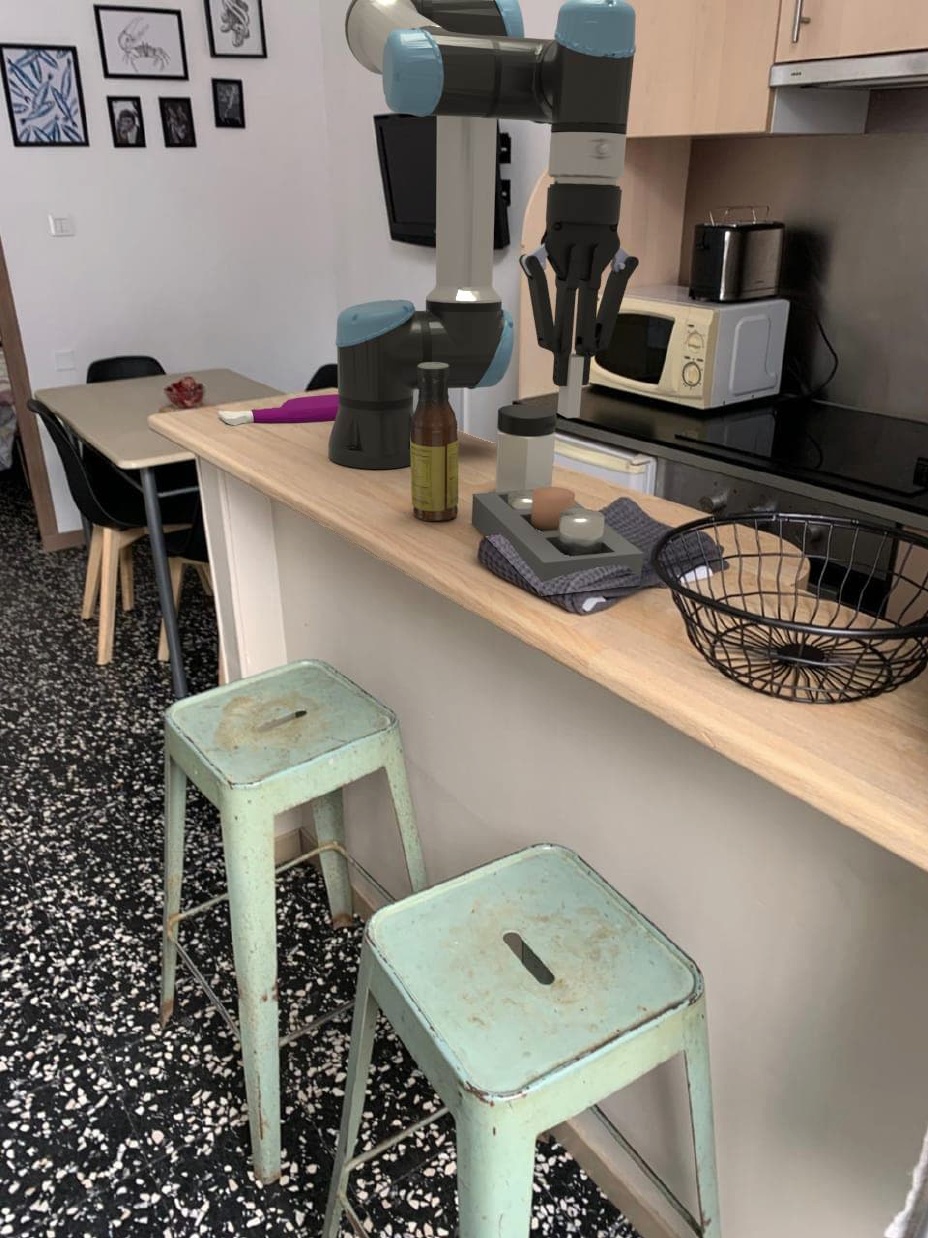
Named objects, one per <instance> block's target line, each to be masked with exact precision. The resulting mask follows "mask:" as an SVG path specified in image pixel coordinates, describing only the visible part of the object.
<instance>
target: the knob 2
mask: <svg viewBox="0 0 928 1238" xmlns="http://www.w3.org/2000/svg"><path fill="white" fill-rule="evenodd" d="M605 517H606V516H605V514H603V513H602V512H600V511H598V510H596V509H589V508H585V507H584V508H571V509H566V510H563V511H561V512H560V516H559V528H558V541H557V549H558V550H559V551H560V552H561V553H563V554H565V555H569V556H581V555H591V554H600V553H601V549H602V539H603V529H604V523H605Z"/></svg>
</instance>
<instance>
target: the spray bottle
mask: <svg viewBox="0 0 928 1238" xmlns="http://www.w3.org/2000/svg"><path fill="white" fill-rule="evenodd" d="M337 411H338V393H336V394H335V393H334V394H324V395H322V394H321V395H309V396H301V397H294V398H290V399H287V400H286V401H285V402H283V403H282V405H281V406H279V407H271V408H270V407H268V408H261V409H259V408H258V409H257V408H256V409H255V408H253V409H250V410H242V411H231V410H230V411H229V410H225V411H224V410H219V411H218V416H219V418H220V419H221V420H223V421H224V422H225V423H227V424H229V425H231V426H234V427H235V426H238V425H240V424H247V423H248V424H249V423H264V424H265V423H266V424H267V423H269V424H277V423H278V424H282V423H283V424H299V423H300V424H301V423H302V424H303V423H304V424H305V423H319V422H321V423H322V422H329V421H330V422H331V421H335V418H336V415H337Z"/></svg>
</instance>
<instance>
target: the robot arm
mask: <svg viewBox="0 0 928 1238" xmlns="http://www.w3.org/2000/svg"><path fill="white" fill-rule="evenodd" d="M636 17H637V16H636V11H635V8H634V7H633V5H632V4H631V3H629V2H627V1H625V0H567V1H566V2H564V3H563V4H562V5H561V6H560V7H559V10H558V14H557V20H556V21H557V22H556V28H555V30H554V35H553V36H554V37H553V38H551V39H548V38H535V37H534V38H531V37H526V36H525V26H524V19H523V18H524V17H523V14H522V10H521V6H520V2H519V1H518V0H351V2H350V4H349V5H348V8H347V10H346V15H345V20H344V32H345V33H344V34H345V40H346V43H347V46H348V48H349V50H350V52H351V54H352V56H353V57H354V59H356V61H358V63H359V64H360V65H361V66H362V67H363V68H365V69H366V70H368V71H369V72H371V73H373V74H377V75H380V76H381V79H382V91H383V94H384V97H385V100H384V101H385V103H386V105H387V107H388V109H390V110H391V111H392V112H393V113H397V114H406V115H412V116H415V117H420V118H422V117H423V118H425V117H426V116H431V117H432V116H434V117H435V116H436V195H435V197H436V199H435V201H436V205H435V208H436V210H435V211H436V212H435V214H436V215H435V216H436V219H435V220H436V221H435V222H436V223H435V231H436V232H435V244H436V245H435V286H434V288H433V289H432V290H431V291H430V292H429V293H428V294H427V296H426V297H425V310H416V307H415V305H414V303H413V301H410V300H406V299H395V300H391V299H387V300H386V299H385V300H384V299H383V300H376V301H370V302H364V303H358V304H355V305H352V306H349V307H346V308H345V309H343V310H341V312H340V313H339V315H338V316H337V319H336V338H335V342H334V343H335V346H336V352H337V353H336V354H337V355H336V357H337V358H336V359H337V394H338V411H337V415H336V418H335V420H334V423H333V424H332V425H333V426H332V429H331V431H330V435H329V439H328V458H329V459H330V460H331V461H332V462H334V463H336V464H339V465H340V466H341V465H342V466H345V467H350V468H356V469H369V470H387V469H389V470H390V469H397V468H404V467H405V468H406V467H410V466H411V451H410V429H411V423H412V417H413V415H414V413H415V409H414V392H415V390H419V379H418V377H417V366H418V365H419V364H421V363H425V362H441V363H446V364H448V365H449V371H450V375H449V377H448V389H469V390H475V389H479V388H491V387H494V386H497V385H498V384H499V383H500V382H501V381H502V380H503V379H504V377H505V374H506V373H507V372H508V369H509V365H510V363H511V359H512V355H513V349H514V343H515V342H514V341H515V340H514V339H515V329H514V328H513V327H514V320H513V317H512V315H511V313H510V312H509V311H508V310H506V309H504V308H503V307H502V305H503V303H502V300H503V299H502V297H501V296H500V295H499V294H498V293H497V291H496V290H495V289H494V287H493V275H494V274H493V268H494V264H493V263H494V238H495V237H494V234H495V233H494V232H495V231H494V230H495V229H494V228H495V201H496V199H495V196H496V194H495V193H496V162H497V161H496V159H497V157H496V156H497V155H496V154H497V124H498V120H509V121H510V120H511V121H513V120H514V121H529V122H531V123H534V124H538V125H539V124H541V125H543V124H547V125H550V141H549V142H550V143H549V144H550V145H549V158H548V159H549V160H548V173H547V174H548V176H549V177H550V178H553V183H552V184H551V183H550V184H549V187H547V193H546V210H545V211H546V212H545V231H544V233H543V235H542V237H541V240H540V246H538V247H536V249H534V250H533V251H531V252H530V253H529V254H525V253H524V254H521V255H520V256H519V259H518V262H519V263H518V264H519V265H520V267H521V269H522V271H523V273H524V274H525V276H526V278H527V284H528V289H529V291H528V292H529V296H530V302H531V308H532V309H531V310H532V316H533V321H534V328H535V334H536V340H537V345H538V346H539V348H541V349H545V350H547V351H549V352H551V353H552V354H553V366H552V367H553V368H552V382H553V384H554V385H555V386H558V397H557V398H558V399H557V400H558V401H557V412H556V414H559V415H560V416H563V417H565V418H566V419H573V418H575V419H576V418H577V419H579V418H580V415H581V403H582V402H581V399H582V388H583V387H582V386H588V384H589V381H590V374H591V371H590V370H591V364H592V363H591V362H592V361H591V360H592V358H594V357H595V356H596V355H597V352H599V351H601V350H606V349H608V348H609V345H610V343H611V340H612V336H613V333H614V329H615V327H616V323H617V320H618V316H619V313H620V309H621V306H622V302H623V299H624V296H625V292H626V288H627V285H628V282H629V280H630V279H631V277H632V275H633V273H635V270H636V269H637V268H638V266H639V264H640V263H639V258H638V257H636V256H635V255H634V256H631V255H629V254H628V253H627V251H625V250H624V249H623V248H621V240H620V236H619V233H618V227H619V221H620V217H621V216H620V215H621V205H622V193H623V191H622V189H621V186H620V185H617V180H621V179H622V178H623V177H624V168H625V157H626V156H625V155H626V144H627V132H628V131H627V130H628V120H629V111H630V110H629V109H630V100H631V99H630V98H631V90H632V81H633V79H632V78H633V69H634V60H635V59H634V58H635V54H636V50H637V45H636V22H637V21H636V20H637V18H636ZM547 262H548V263H549V265H550V267H551V268H552V269H553V271H554V274H555V276H554V277H555V280H554V284H555V287H556V288H555V292H556V293H555V305H554V308H555V309H554V318H553V310H552V304H551V297H550V292H549V284H548V280H547V279H548V278H547V275H546V272H545V270H546V269H547ZM609 265H610V269H611V270H610V272H609V274H608V277H607V280H606V283H605V286H604V290H603V293H602V296H601V300H600V304H599V306H598V299H599V290H600V289H601V286H602V277H603V276H602V275H603V273H604V272H605V270H606V269H607V267H608V266H609ZM577 290H578V291H577ZM576 295H577V304H576ZM576 305H577V306H576ZM575 309H576V310H575ZM575 312H576V316H575ZM575 317H576V319H575ZM575 320H576V322H575ZM574 323H575V324H574ZM574 325H575V332H574ZM574 334H575V335H574ZM573 338H574V346H573ZM573 347H574V351H575V353H572V351H573Z"/></svg>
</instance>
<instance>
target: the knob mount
mask: <svg viewBox="0 0 928 1238" xmlns="http://www.w3.org/2000/svg"><path fill="white" fill-rule="evenodd" d="M534 490H535V489H534ZM534 490H520V491H534ZM512 492H516V491H506V492H495V491H494V492H482V493H479V492H478V493H472V501H471V502H472V503H471V505H472V506H471V524H472V525H473V527H475V529H477V531H479V533H480V534H481V535H482V536H483V537H484V538H485V537H486V536H491V535H499V534H501V535H502V536H503V537H505V538H506V539H507V540H508V541H509V542H510V544H511V545H512V546H513V548H514V549H515V550H516V552H517V553H518V554H519V556H520V557H521V558H522V560H523V561H525V563H527V565H528V566H529V567H530V568H531V569H532V570H533V572H534V573H535V575H536V576H537V577H538V578H539V579H540V581H541V582H542V583H543V582H545V581H548V580H550V579H552V578H556V577H559V576H562V575H563V576H564V575H569V574H572V573H575V572H577V571H583V570H588V569H591V568H592V569H593V568H596V567H602V566H609V565H612V566H613V565H625V566H629V567H630V568H631V569H630V570H632V571H630V572H632V573H630V574H635V575H636V576H639V577H641V578H642V572H643V571H642V570H643V563H644V552H643V551H642V550H641V549H639V548H638V547H636V546H635V545H634V544H633V543H631V542H630V541H629V540H627V538H625V537H624V536H622V535H620V533H618V532H617V531H616V530H614V529H613V528H612V527H610V526H609V525H608V524H606V523H605V522H604V529H603V539H602V549H601V553H600V554H591V555H581V556H570V557H565V556H564V555H563V554H562V553H561V552H560V551H559V550H558V549H557V541H558V530H553V531H542V532H538V531H537V530H536V529H535V528H533V527H532V526H531V512H532V508H529V509H516V510H513V509H512V508H511V507H510V506H509V505H508V495H509V494H510V493H512ZM574 508H585V507H584V506H583V505H582V504H580V503H579V502H578V501H576V500H575V501H574Z"/></svg>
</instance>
